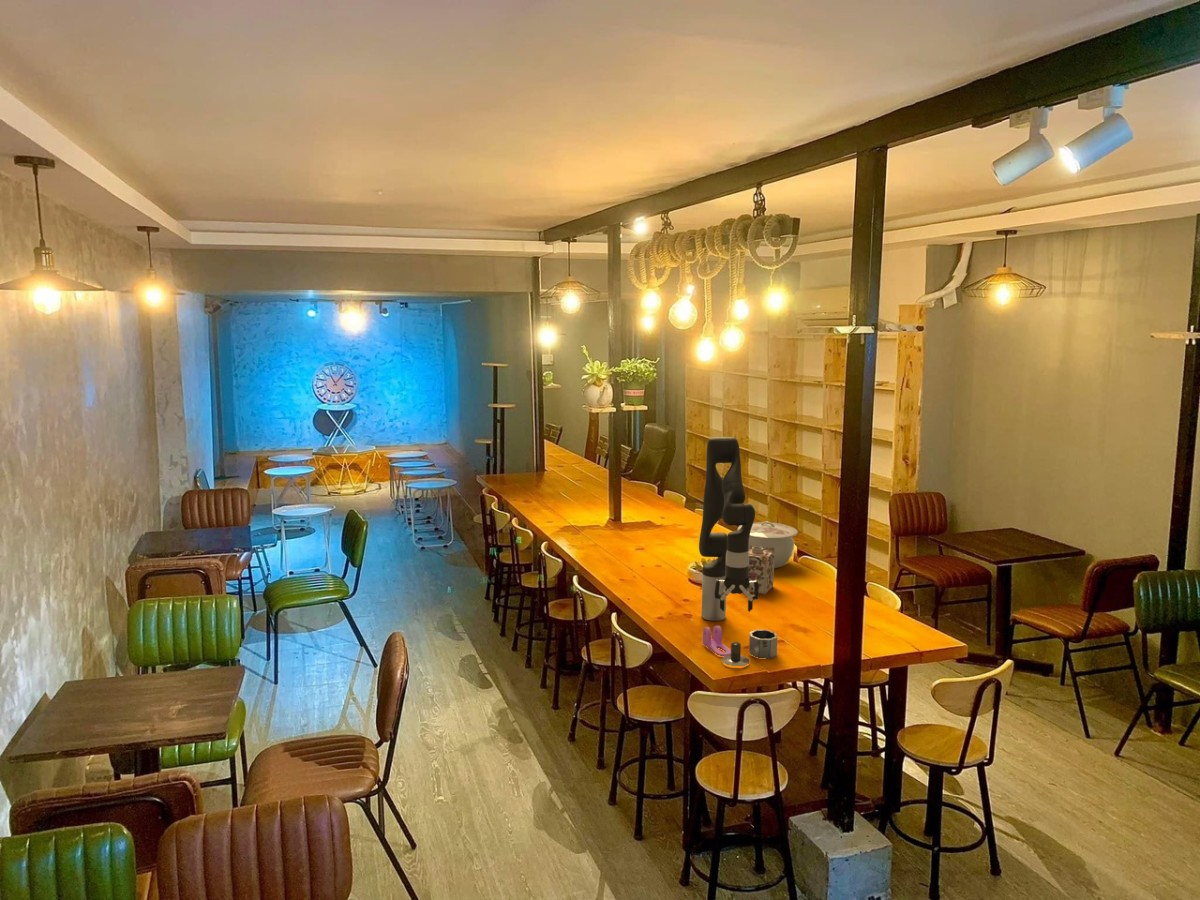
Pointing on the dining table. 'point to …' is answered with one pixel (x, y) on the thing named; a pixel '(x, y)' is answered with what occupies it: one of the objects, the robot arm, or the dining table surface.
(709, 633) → the bracket
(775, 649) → the pot
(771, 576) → the decorative jar
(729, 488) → the robot arm
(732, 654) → the lid
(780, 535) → the chamber pot
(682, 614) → the dining table surface
